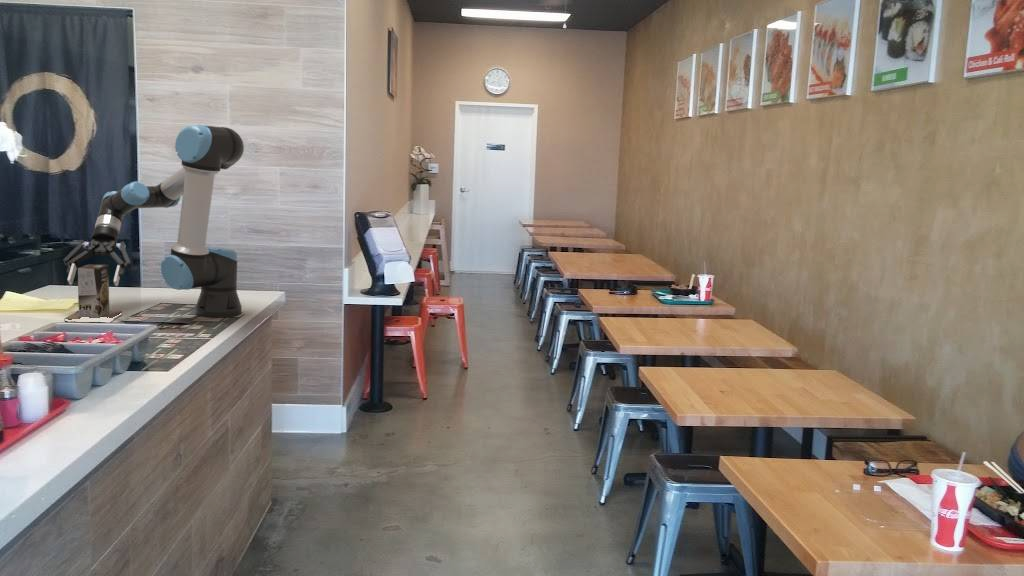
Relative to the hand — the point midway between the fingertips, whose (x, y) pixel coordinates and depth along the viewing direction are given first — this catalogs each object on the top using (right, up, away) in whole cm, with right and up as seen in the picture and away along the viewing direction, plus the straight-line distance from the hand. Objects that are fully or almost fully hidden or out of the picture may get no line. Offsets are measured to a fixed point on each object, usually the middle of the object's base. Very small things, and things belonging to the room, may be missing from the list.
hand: (92, 283), depth 244 cm
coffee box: (0, -11, +1) cm, 11 cm away
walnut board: (0, -11, +1) cm, 12 cm away
